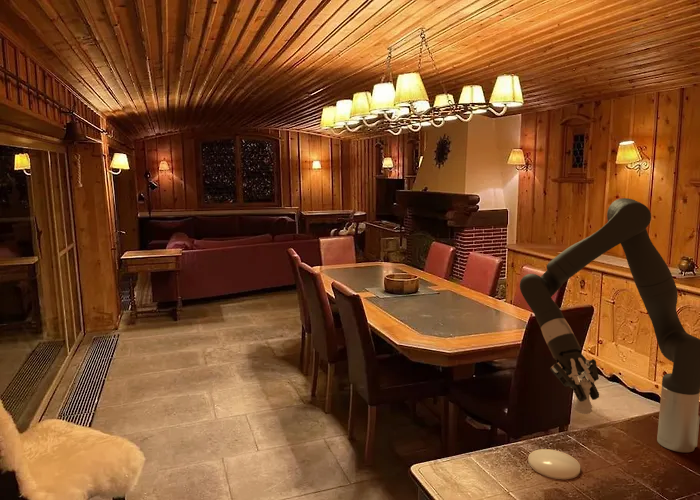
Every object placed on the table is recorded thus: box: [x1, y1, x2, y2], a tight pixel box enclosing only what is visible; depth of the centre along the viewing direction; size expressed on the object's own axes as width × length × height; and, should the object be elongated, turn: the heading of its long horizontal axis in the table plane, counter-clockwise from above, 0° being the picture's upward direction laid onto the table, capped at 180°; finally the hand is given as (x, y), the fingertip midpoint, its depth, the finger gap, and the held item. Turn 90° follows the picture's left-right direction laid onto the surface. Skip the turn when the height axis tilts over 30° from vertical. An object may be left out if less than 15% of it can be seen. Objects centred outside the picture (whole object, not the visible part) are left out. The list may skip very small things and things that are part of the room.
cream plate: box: [527, 448, 581, 480], centre depth 136 cm, size 13×13×1 cm
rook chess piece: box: [573, 379, 593, 415], centre depth 130 cm, size 4×4×8 cm
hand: (589, 399), depth 129 cm, fingers closed on rook chess piece, 3 cm apart
